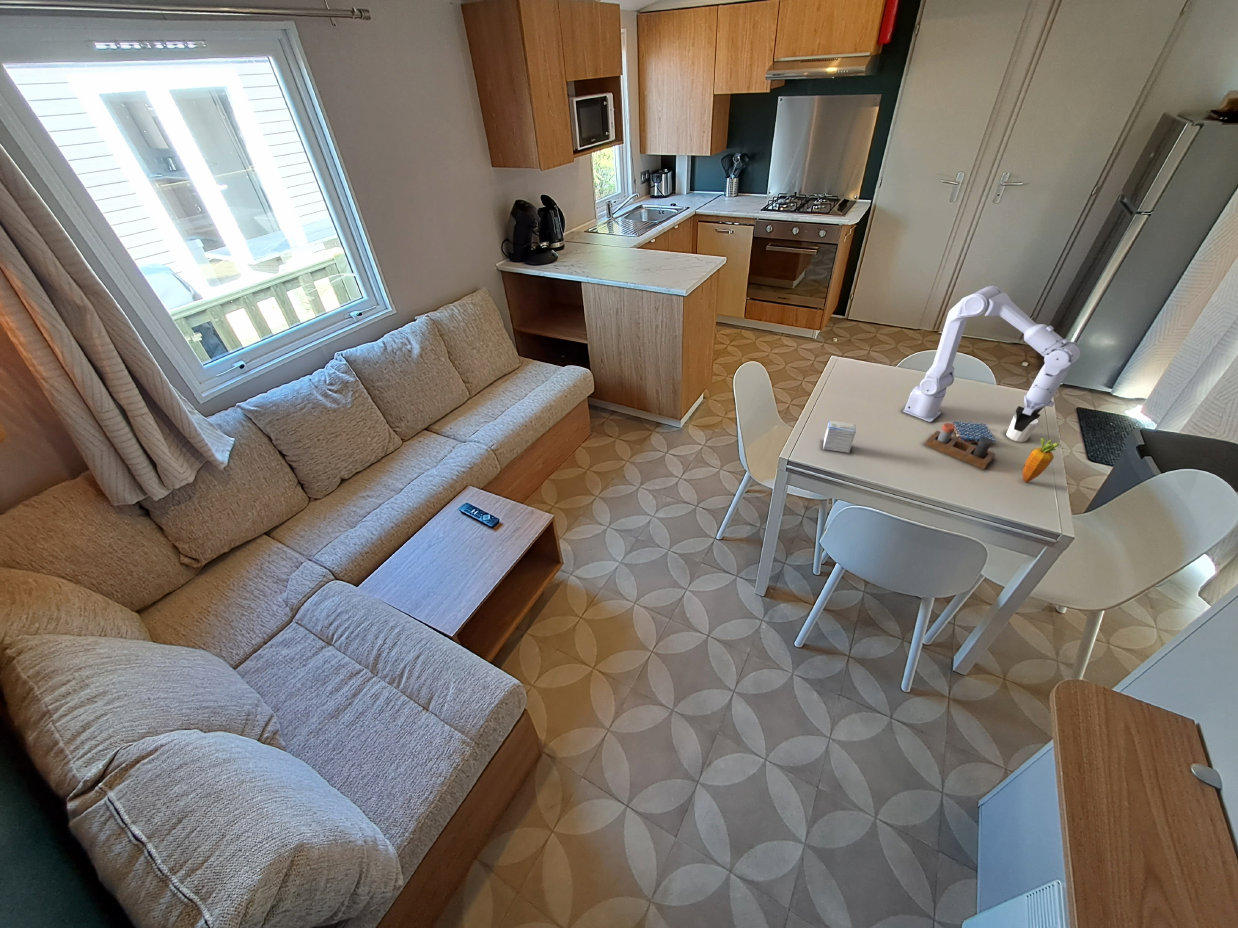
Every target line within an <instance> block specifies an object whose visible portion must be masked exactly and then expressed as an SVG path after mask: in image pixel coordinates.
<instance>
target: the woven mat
mask: <svg viewBox="0 0 1238 928" xmlns="http://www.w3.org/2000/svg"><path fill="white" fill-rule="evenodd" d="M951 424H952V425H954V426H955V429H954V431H953V432H955V436H956V438H958V439H960V440H963V441H965V442H968V443H970V444H973V443H974V444H978V442H979V440H980V438H982V437H986V438H989V439H991V440H992V441H993V443H992V445H993V446H995V445H996V438H994V436H993V433H992V432H991V429H989V427H988V425H987V424H985V423H982V422H981V423H977V422H975V423H974V422H966V421H964V422H963V421H962V422H961V421H956V420H954V421H952V423H951Z"/></svg>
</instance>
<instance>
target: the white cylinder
mask: <svg viewBox="0 0 1238 928" xmlns="http://www.w3.org/2000/svg"><path fill="white" fill-rule="evenodd" d="M1015 422H1016V413H1015V414H1014V415H1013V417H1012V419H1011V422H1010V423H1009V426H1008V429H1007V431H1006V433H1005V435H1006V437H1007V438H1008V439H1010V440H1011V441H1013V442H1014V441H1015V442H1018V443H1024V442H1026V441H1028V439H1029V438H1030V436H1031V435H1032V434H1033V433H1034V432H1035V431H1036V429H1037V428H1038V427H1039V425H1040V423H1041V420H1040V419H1039V417H1038V418H1037V419H1035V420H1034V421H1032V422H1031V423H1030V424H1029V425H1028V426H1027V427H1026V428H1025V429H1024V430H1023V431H1022V432H1020V431H1017V430H1015V429H1014V426H1015Z"/></svg>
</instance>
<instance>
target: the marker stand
mask: <svg viewBox="0 0 1238 928" xmlns="http://www.w3.org/2000/svg"><path fill="white" fill-rule="evenodd" d="M940 432H941V430H936V431H934V433H933V434H932V435H930V437H928V438H927V440H926V443H925V446H926V447H929V448H931V449H933V450H936V451H938V452H940V453H943V454H945V455H947V456H950V457H952V458H955V459H957V460H960V461H962V462H965V463H967V464H969V465H972V466H974V467H975V468H979V469H981V470H985V469H986V468H987V466H989V465H990V463H991V462H992V461H993V460H994V458H995V456H996V452H993V451H990V450H988V451H987V453H986V455H985V457H984V458H983V459H982V458H980V457H977V456H975V455H972V454H973V452H974V451H975V449H976V447H977V445H975V444H973V443H968V442H965V441H963V440H960V439H958V438H959V437H955V436H953V435H951V437H950V439H949V441H948V443H947V444H945V443H943V442H940V441H938V440H937V439H938V437H939V434H940Z"/></svg>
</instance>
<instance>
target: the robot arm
mask: <svg viewBox="0 0 1238 928" xmlns="http://www.w3.org/2000/svg"><path fill="white" fill-rule="evenodd" d="M984 313H985V314H984ZM982 314H984V317H999V318H1002V319H1003V320H1004V321H1006V322H1007V323H1009V324H1010V325H1011V326H1013V327H1014V328H1015V329H1017V330H1019V332H1021V333H1022V334H1023V341H1024V342H1025V343H1026V344H1028V345H1029V346H1030V347H1031V348H1033V349H1034V351H1036V352H1037V353H1039V354H1040V355H1041V356H1042V357H1043V358H1044V359H1043V362H1044V364H1043V365H1042V367H1041V368H1040V370H1039V372H1038V373H1037V375H1036V377H1035V379H1034V381H1033V382H1032V384H1031V386H1030V387H1029V388H1028V391H1027V393H1026V394H1025V395H1023V396H1024V397H1023V401H1024V406H1020V405H1018V406H1017V407H1016V409H1015V414H1016V422H1015V426H1014V429H1015V430H1017V431H1020V432H1022V431H1023V430H1024V429H1025V428H1026V427H1027V426H1028V425H1029V424H1030V423H1031V422H1032V421H1034V420H1035V419H1037V418H1038V419H1039V418H1040V416H1041V414H1040V412H1041V411H1042V410H1043V409H1045V408H1046V407H1050V408H1051V407H1054V406H1055V404H1056V402H1055V401H1053V398H1054V396H1055V394H1056V392H1057V391H1058V390H1059V388H1060V386H1061V385H1062V383H1063V381H1064V379H1065V378H1066V376H1067V375H1068V372H1069V371H1070V369H1071V367H1072V364H1074V363H1075V362H1076V361H1077V360H1079V358H1080V357H1081V355H1082V349H1081V348H1082V347H1080V345H1078V343H1077V342H1075V341H1069V340H1068V339H1067V338H1063V337H1062V336H1060V335H1059V334H1058V333H1057V332H1055V331H1054V329H1055V327H1053V325H1047V324H1046V323H1041V324H1040V323H1036V322H1035V321H1034V320H1033V319H1032V318H1030V316H1028V315H1027V314H1026V313H1025V312H1024V311H1023V310H1022V309H1021V308H1020V307H1018V306H1017V305H1016V303H1015V302H1014V301H1012V300H1011V298H1010V297H1009V295H1008V294H1007V293H1006V292H1004V291H1002V290H1001V289H1000V288H999V287H997V286H995V285H989V286H986V287H984V288H981V289H979V290H976V291H975V292H973V293H971V294H969V295H967V296H963V297H962V298H961V299H960V300H959V301H958V302H957V303H956V304H955V305H954V306H953V307H952V308H951V309H950V310H949V311H948V313H947V316H946V319H945V323H944V326H943V330H942V333H941V336H940V340H939V343H938V347H937V349H936V353H935V356H934V359H933V363H932V365H931V367H930V368H929V369H928V370H927V372H925V376H924V377H923V378H922V380H921V381H920V383H919V385H915V387H913V389H912V391H911V393H910V394H909V396H908V399H907V401H906V404H905V407H904V409H903V410H902V412H903V413H904V414H905V413H906V414H908V415H911V416H913V417H916V418H918V419H920V420H924V421H926V422H929V423H932V422H933V421H934V420H935V419H936V418H937V417H939V416H940V415H941V413H942V412H941V411H940V410H939V409H940V407H941V405H942V404H943V403H942V402H943V400H944V398H945V396H946V394H947V388H949V387H950V386H952V385H953V383H954V381H955V375H954V372H955V367H954V361H955V358H956V356H957V352H958V349H959V346H960V343H961V340H962V336H963V334H964V331H965V327H966V324H967V322H968V319H969V318H971V317H977V316H980V315H982Z"/></svg>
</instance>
